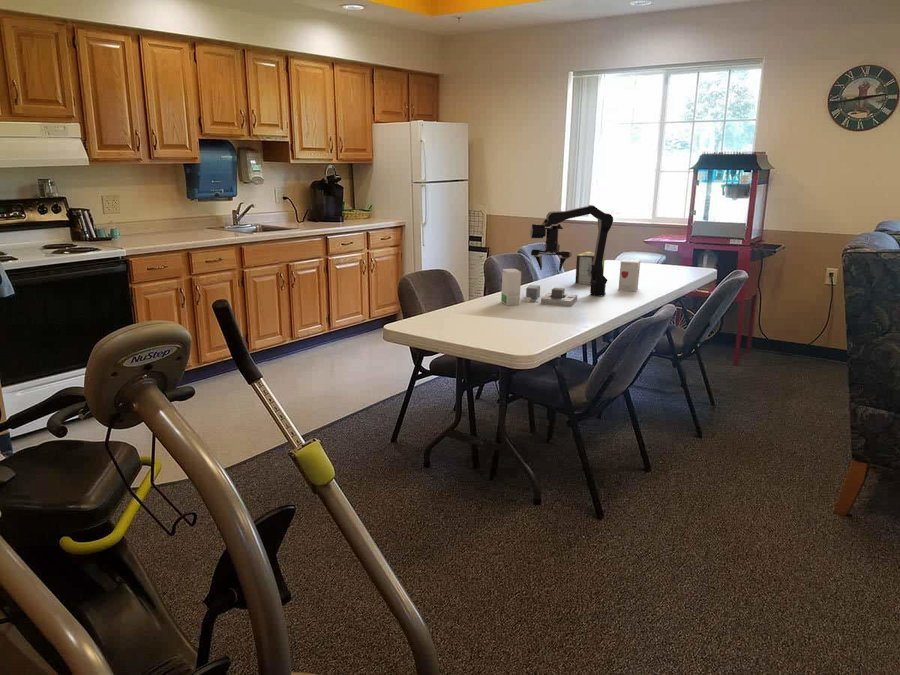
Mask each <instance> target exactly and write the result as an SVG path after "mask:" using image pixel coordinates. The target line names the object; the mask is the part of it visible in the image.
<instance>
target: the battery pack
mask: <svg viewBox="0 0 900 675" xmlns="http://www.w3.org/2000/svg"><path fill="white" fill-rule="evenodd" d="M525 290H526V292H525V298H526V297H531V300H532V301H537V300H538V299H539V298H540V296H541V285H537V284H536V285H535V284H529V285H528V286H527V287H526V289H525Z"/></svg>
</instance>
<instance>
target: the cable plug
mask: <svg viewBox="0 0 900 675" xmlns="http://www.w3.org/2000/svg"><path fill="white" fill-rule="evenodd" d="M524 302H525V303H526V302H527V303H537V300H531V297H526V296H525V297H524Z"/></svg>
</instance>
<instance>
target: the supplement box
mask: <svg viewBox="0 0 900 675" xmlns="http://www.w3.org/2000/svg"><path fill="white" fill-rule="evenodd" d="M640 267H641V260H640V259H630V258H629V259H627V258H622V259H621V261H620V267H619V277H618V278H619V279H618V291H626V292H637V290H638V288H639V278H640V269H641V268H640Z"/></svg>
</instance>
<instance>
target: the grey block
mask: <svg viewBox="0 0 900 675" xmlns="http://www.w3.org/2000/svg"><path fill="white" fill-rule="evenodd" d="M551 293H552V295H551V297H554V298H564V294H565V288H562V287H553V288H552V289H551Z"/></svg>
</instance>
